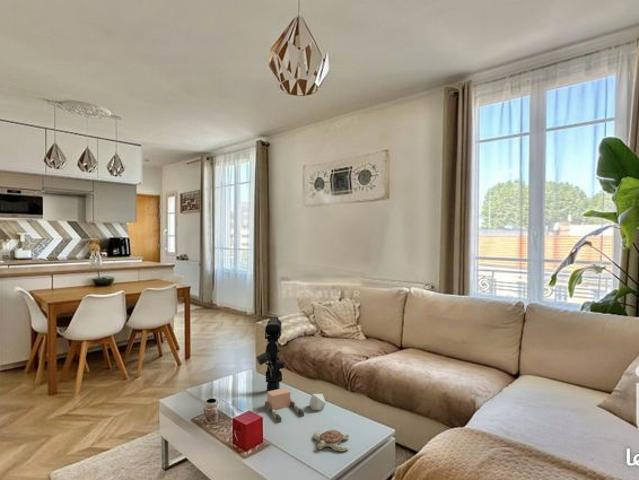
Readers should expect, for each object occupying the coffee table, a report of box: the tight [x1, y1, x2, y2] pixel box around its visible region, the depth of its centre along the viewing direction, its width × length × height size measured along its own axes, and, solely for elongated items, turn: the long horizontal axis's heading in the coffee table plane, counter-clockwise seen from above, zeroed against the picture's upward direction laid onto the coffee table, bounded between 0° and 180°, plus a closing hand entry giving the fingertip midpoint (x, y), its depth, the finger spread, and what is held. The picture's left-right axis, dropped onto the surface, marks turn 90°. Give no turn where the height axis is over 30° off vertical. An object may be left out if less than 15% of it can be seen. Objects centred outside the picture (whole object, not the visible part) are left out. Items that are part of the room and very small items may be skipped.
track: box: [264, 398, 305, 424], centre depth 182 cm, size 19×13×4 cm
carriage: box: [266, 387, 291, 411], centre depth 188 cm, size 6×10×7 cm, turn 119°
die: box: [308, 393, 327, 411], centre depth 186 cm, size 8×9×10 cm
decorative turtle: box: [312, 429, 350, 452], centre depth 157 cm, size 18×17×5 cm
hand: (272, 377), depth 195 cm, fingers closed
